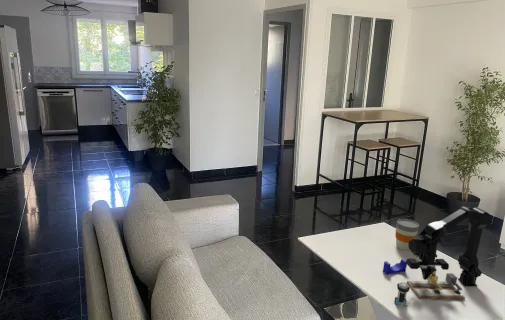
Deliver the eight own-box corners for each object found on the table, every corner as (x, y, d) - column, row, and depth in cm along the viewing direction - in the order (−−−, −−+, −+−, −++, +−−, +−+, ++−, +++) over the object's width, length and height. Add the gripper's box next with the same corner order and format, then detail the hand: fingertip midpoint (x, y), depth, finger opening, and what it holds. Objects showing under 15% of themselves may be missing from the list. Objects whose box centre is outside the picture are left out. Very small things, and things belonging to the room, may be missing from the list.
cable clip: (399, 267, 206) (401, 257, 204) (405, 272, 202) (407, 261, 200) (380, 270, 202) (382, 260, 200) (386, 274, 198) (387, 264, 196)
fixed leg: (450, 282, 191) (452, 273, 189) (462, 294, 181) (464, 285, 179) (444, 282, 190) (446, 273, 189) (456, 294, 180) (458, 285, 179)
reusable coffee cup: (388, 243, 233) (392, 220, 229) (403, 240, 238) (407, 217, 234) (404, 252, 222) (408, 229, 218) (419, 249, 227) (424, 226, 223)
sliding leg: (432, 281, 190) (434, 268, 188) (443, 293, 180) (446, 279, 178) (426, 281, 190) (428, 267, 188) (437, 293, 180) (440, 279, 178)
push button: (407, 301, 177) (410, 281, 174) (411, 308, 171) (415, 288, 169) (392, 300, 177) (395, 280, 174) (396, 307, 172) (399, 287, 169)
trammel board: (449, 283, 193) (450, 278, 192) (464, 299, 180) (465, 294, 179) (406, 283, 191) (407, 278, 190) (419, 299, 179) (420, 293, 178)
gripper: (439, 242, 191) (434, 270, 195) (403, 242, 190) (398, 270, 194) (452, 254, 181) (446, 283, 185) (413, 253, 179) (408, 282, 183)
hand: (424, 279), depth 187 cm, fingers closed
